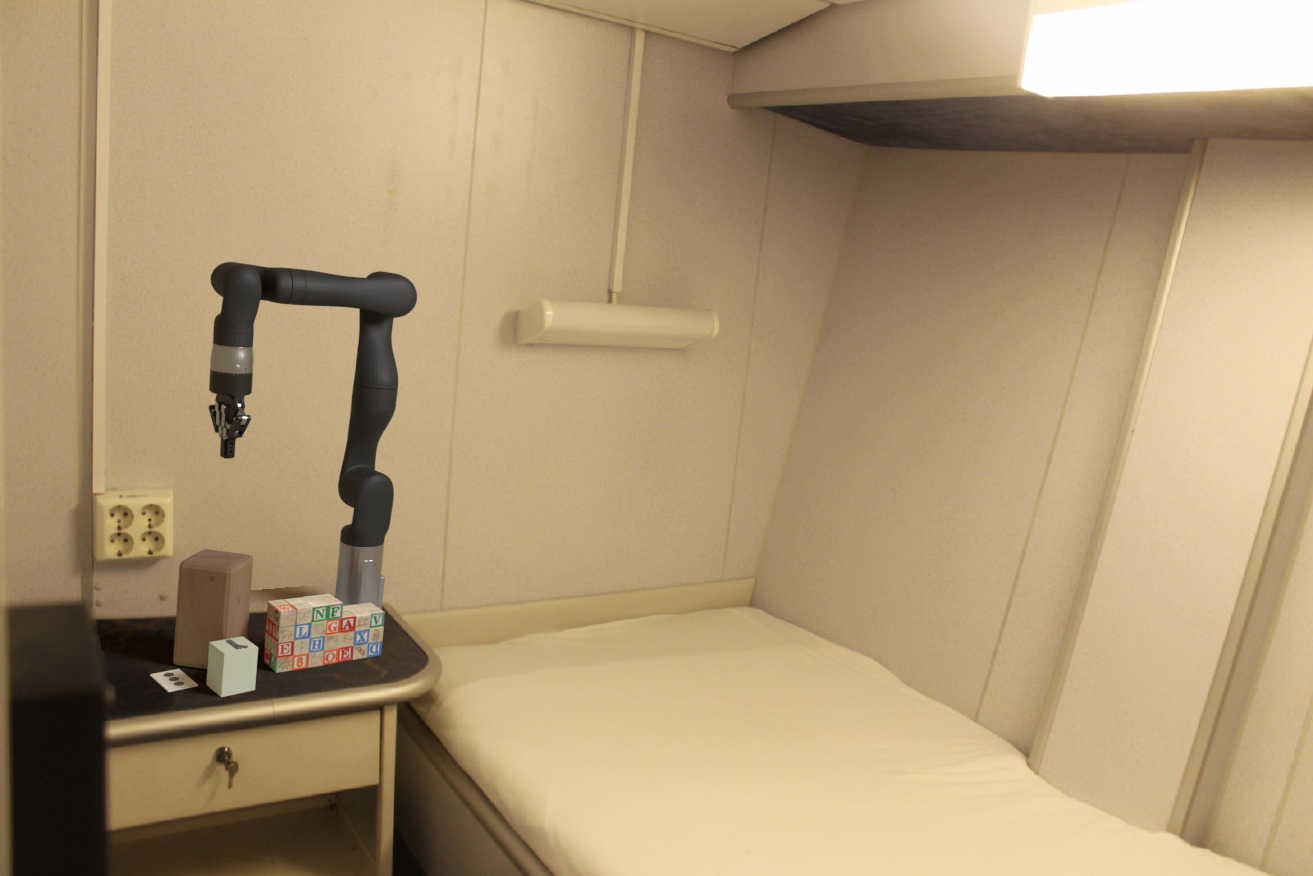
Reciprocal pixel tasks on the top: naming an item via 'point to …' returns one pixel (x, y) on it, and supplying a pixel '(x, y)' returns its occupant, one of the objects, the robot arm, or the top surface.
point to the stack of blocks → (320, 632)
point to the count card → (173, 680)
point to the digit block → (232, 666)
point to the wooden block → (211, 603)
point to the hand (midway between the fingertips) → (227, 457)
